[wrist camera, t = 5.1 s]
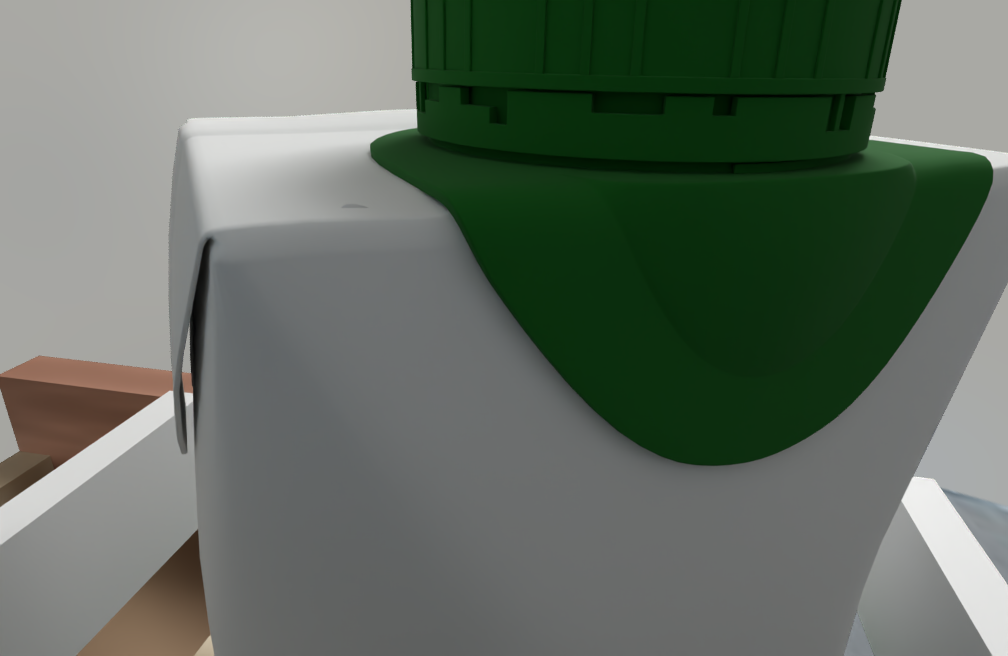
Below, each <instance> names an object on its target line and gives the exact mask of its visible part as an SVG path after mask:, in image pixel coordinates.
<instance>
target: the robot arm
mask: <svg viewBox="0 0 1008 656" xmlns="http://www.w3.org/2000/svg"><path fill="white" fill-rule="evenodd" d="M184 395H185V402H186V422H187V447H188V453H187V454H181V451H180V448H179V445H178V442H177V435H176V425H175V415H174V397H173V391H168V392H167V393H165V394H164V395H163V396H161V397H160V398H158V399H157V400H155V401H154V402H152V403H151V404H149V405H148V406H147V407H145V408H144V409H142V410H141V411H139V412H138V413H136V414H135V415H133V416H132V417H131V418H129V419H128V420H126V421H125V422H123V423H122V424H120V425H119V426H117V427H116V428H115V429H113V430H112V431H110V432H109V433H107V434H106V435H104V436H103V437H101V438H100V439H99V440H97V441H96V442H94V443H93V444H91V445H90V446H88V447H87V448H85V449H84V450H83V451H81V452H80V453H78V454H77V455H75V456H74V457H72V458H71V459H69V460H68V461H67V462H65V463H64V464H62V465H61V466H59V467H58V468H56V469H55V470H53V471H52V472H51V473H49V474H48V475H46V476H45V477H43V478H42V479H40V480H39V481H37V482H36V483H35V484H33V485H32V486H30V487H29V488H27V489H26V490H24V491H23V492H21V493H20V494H19V495H17V496H16V497H14V498H13V499H11V500H10V501H8V502H7V503H5V504H4V505H3V506H1V507H0V656H76V655H77V654H78V653H79V652H80V651H81V650H82V649H83V648H84V647H85V646H86V645H87V644H88V643H89V642H90V641H91V639H92V638H93V637H94V636H95V635H96V634H97V633H98V632H99V631H100V630H101V629H102V628H103V627H104V626H105V625H106V624H107V623H108V622H109V621H110V620H111V619H112V618H113V617H114V616H115V615H116V613H117V612H118V611H119V610H120V609H121V608H122V607H123V606H124V605H125V604H126V603H127V602H128V601H129V600H130V599H131V598H132V597H133V596H134V595H135V594H136V593H137V592H138V591H139V590H140V589H141V587H142V586H143V585H144V584H145V583H146V582H147V581H148V580H149V579H150V578H151V577H152V576H153V575H154V574H155V573H156V572H157V571H158V570H159V569H160V568H161V567H162V566H163V565H164V564H165V563H166V561H167V560H168V559H169V558H170V557H171V556H172V555H173V554H174V553H175V552H176V551H177V550H178V549H179V548H180V547H181V546H182V545H183V544H184V543H185V542H186V541H187V540H188V539H189V538H190V537H191V535H192V534H193V533H194V532H195V531H196V530H197V529H198V519H197V501H196V478H195V454H194V421H193V393H186V392H184ZM857 613H858V615H859V618H860V620H861V623H862V625H863V628H864V631H865V633H866V636H867V638H868V641H869V644H870V646H871V649H872V651H873V654H874V656H1008V585H1007V583H1006V582H1005V580H1004V579H1003V577H1002V576H1001V574H1000V573H999V572H998V570H997V569H996V567H995V566H994V564H993V563H992V562H991V560H990V559H989V557H988V556H987V554H986V553H985V551H984V550H983V549H982V547H981V546H980V544H979V543H978V541H977V540H976V539H975V537H974V536H973V534H972V533H971V531H970V530H969V528H968V527H967V526H966V524H965V523H964V521H963V520H962V518H961V517H960V516H959V514H958V513H957V511H956V510H955V508H954V507H953V506H952V504H951V503H950V501H949V500H948V498H947V497H946V495H945V494H944V493H943V491H942V490H941V488H940V487H939V485H938V484H937V483H936V481H935V480H934V479H929V478H920V477H913V478H912V480H911V482H910V484H909V486H908V488H907V490H906V492H905V494H904V496H903V498H902V500H901V503H900V505H899V507H898V509H897V511H896V513H895V515H894V517H893V519H892V521H891V524H890V526H889V528H888V530H887V532H886V534H885V536H884V538H883V540H882V542H881V545H880V547H879V550H878V552H877V555H876V558H875V560H874V563H873V565H872V568H871V571H870V573H869V576H868V578H867V581H866V584H865V586H864V589H863V592H862V595H861V598H860V602H859V605H858V609H857Z"/></svg>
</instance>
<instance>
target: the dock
mask: <svg viewBox="0 0 1008 656" xmlns="http://www.w3.org/2000/svg"><path fill="white" fill-rule="evenodd" d="M182 380H183V387H184V392H186V393H193V387H192V380H191V373H183V372H182ZM0 389H1V392H2V395H3V399H4V402H5V405H6V408H7V411H8V415H9V418H10V421H11V424H12V428H13V431H14V434H15V437H16V441H17V444H18V447H19V450H20V451H19V452H18V453H16V454H14V455H13V456H11V457H9V458H8V459H6V460H5V461H3V462H1V463H0V507H1V506H3V505H4V504H5V503H7V502H8V501H10V500H11V499H13V498H14V497H16V496H17V495H19V494H20V493H21V492H23V491H24V490H26V489H27V488H29V487H30V486H32V485H33V484H35V483H36V482H37V481H39V480H40V479H42V478H43V477H45V476H46V475H48V474H49V473H51V472H52V471H53V470H55V469H56V468H58V467H59V466H61V465H62V464H64V463H65V462H67V461H68V460H69V459H71V458H72V457H74V456H75V455H77V454H78V453H80V452H81V451H83V450H84V449H85V448H87V447H88V446H90V445H91V444H93V443H94V442H96V441H97V440H99V439H100V438H101V437H103V436H104V435H106V434H107V433H109V432H110V431H112V430H113V429H115V428H116V427H117V426H119V425H120V424H122V423H123V422H125V421H126V420H128V419H129V418H131V417H132V416H133V415H135V414H136V413H138V412H139V411H141V410H142V409H144V408H145V407H147V406H148V405H149V404H151V403H152V402H154V401H155V400H157V399H158V398H160V397H161V396H163V395H164V394H165V393H167V392H168V391H173V376H172V371H166V370H157V369H149V368H140V367H132V366H123V365H115V364H106V363H98V362H89V361H80V360H71V359H63V358H54V357H45V356H38V357H35V358H33V359H31V360H29V361H27V362H25V363H23V364H21V365H19V366H16V367H14V368H12V369H10V370H8V371H6V372H4V373H2V374H0ZM76 656H214V650H213V645H212V639H211V634H210V628H209V622H208V615H207V608H206V600H205V592H204V585H203V577H202V570H201V562H200V551H199V535H198V529H197V530H196V531H195V532H194V533H193V534H192V535H191V537H190V538H189V539H188V540H187V541H186V542H185V543H184V544H183V545H182V546H181V547H180V548H179V549H178V550H177V551H176V552H175V553H174V554H173V555H172V556H171V557H170V558H169V559H168V560H167V561H166V563H165V564H164V565H163V566H162V567H161V568H160V569H159V570H158V571H157V572H156V573H155V574H154V575H153V576H152V577H151V578H150V579H149V580H148V581H147V582H146V583H145V584H144V585H143V586H142V587H141V589H140V590H139V591H138V592H137V593H136V594H135V595H134V596H133V597H132V598H131V599H130V600H129V601H128V602H127V603H126V604H125V605H124V606H123V607H122V608H121V609H120V610H119V611H118V612H117V613H116V615H115V616H114V617H113V618H112V619H111V620H110V621H109V622H108V623H107V624H106V625H105V626H104V627H103V628H102V629H101V630H100V631H99V632H98V633H97V634H96V635H95V636H94V637H93V638H92V639H91V641H90V642H89V643H88V644H87V645H86V646H85V647H84V648H83V649H82V650H81V651H80V652H79V653H78V654H77V655H76Z"/></svg>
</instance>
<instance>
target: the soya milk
mask: <svg viewBox="0 0 1008 656" xmlns="http://www.w3.org/2000/svg"><path fill="white" fill-rule="evenodd" d="M901 1H902V0H411V34H412V80H414V81H418V82H416V102H417V103H416V105H417V109H406V110H382V111H381V110H380V111H365V112H349V113H334V114H319V115H305V116H304V115H303V116H281V117H227V118H226V117H225V118H192V119H188V120H187V121H186V124H184V125H182V126H181V127H180V128H179V131H178V139H177V146H176V153H175V161H174V168H173V178H172V193H171V209H170V224H169V318H170V343H171V344H170V345H171V363H172V376H173V397H174V415H175V425H176V435H177V442H178V445H179V448H180V451H181V454H187V453H188V447H187V422H186V402H185V395H184V387H183V380H182V364H183V355H184V349H185V343H186V338H187V333H188V327H189V322H190V360H191V380H192V387H193V421H194V454H195V478H196V501H197V519H198V535H199V551H200V562H201V570H202V577H203V585H204V592H205V600H206V608H207V615H208V622H209V628H210V634H211V639H212V645H213V650H214V656H844V652H845V649H846V646H847V642H848V639H849V636H850V632H851V629H852V625H853V622H854V619H855V615H856V612H857V609H858V605H859V602H860V598H861V595H862V592H863V589H864V586H865V584H866V581H867V578H868V576H869V573H870V571H871V568H872V565H873V563H874V560H875V558H876V555H877V552H878V550H879V547H880V545H881V542H882V540H883V538H884V536H885V534H886V532H887V530H888V528H889V526H890V524H891V521H892V519H893V517H894V515H895V513H896V511H897V509H898V507H899V505H900V503H901V500H902V498H903V496H904V494H905V492H906V490H907V488H908V486H909V484H910V482H911V480H912V478H913V475H914V473H915V471H916V469H917V467H918V465H919V463H920V461H921V459H922V457H923V455H924V453H925V451H926V449H927V447H928V445H929V443H930V441H931V439H932V437H933V434H934V432H935V430H936V428H937V426H938V424H939V422H940V420H941V418H942V416H943V414H944V412H945V410H946V408H947V406H948V404H949V402H950V400H951V398H952V396H953V393H954V391H955V389H956V387H957V385H958V383H959V381H960V379H961V377H962V375H963V373H964V371H965V369H966V367H967V365H968V363H969V361H970V359H971V357H972V355H973V353H974V351H975V349H976V347H977V344H978V342H979V340H980V338H981V336H982V334H983V332H984V330H985V328H986V326H987V324H988V322H989V320H990V318H991V316H992V314H993V312H994V310H995V308H996V306H997V304H998V302H999V300H1000V298H1001V295H1002V293H1003V291H1004V289H1005V287H1006V285H1007V283H1008V153H1004V152H998V151H990V150H981V149H974V148H966V147H958V146H949V145H942V144H934V143H926V142H917V141H910V140H902V139H894V138H886V137H877V136H870V133H871V128H872V123H873V119H874V114H875V110H876V109H875V108H874V107H873V106H874V102H875V97H876V95H875V92H881V91H883V90H884V86H885V81H886V78H885V77H886V72H887V68H888V63H889V57H890V53H891V48H892V44H893V39H894V34H895V29H896V25H897V20H898V15H899V10H900V6H901Z"/></svg>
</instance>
